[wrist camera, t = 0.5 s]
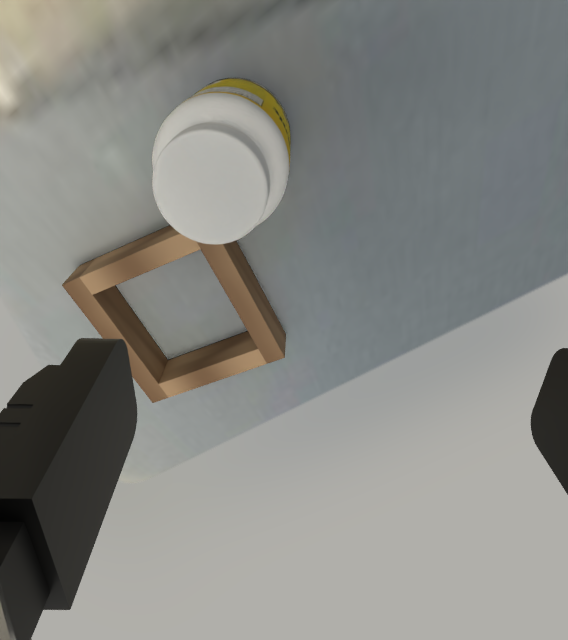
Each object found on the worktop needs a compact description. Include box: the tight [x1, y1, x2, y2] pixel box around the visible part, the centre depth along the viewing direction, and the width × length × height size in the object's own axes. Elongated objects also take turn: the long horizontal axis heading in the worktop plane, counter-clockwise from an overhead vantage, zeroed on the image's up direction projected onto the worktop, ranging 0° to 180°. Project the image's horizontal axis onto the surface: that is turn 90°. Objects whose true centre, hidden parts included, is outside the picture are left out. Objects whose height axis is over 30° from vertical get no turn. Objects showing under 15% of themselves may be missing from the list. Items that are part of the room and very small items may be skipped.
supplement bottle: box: [152, 78, 290, 244], centre depth 21 cm, size 5×5×10 cm
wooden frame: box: [62, 225, 286, 403], centre depth 29 cm, size 9×9×2 cm
